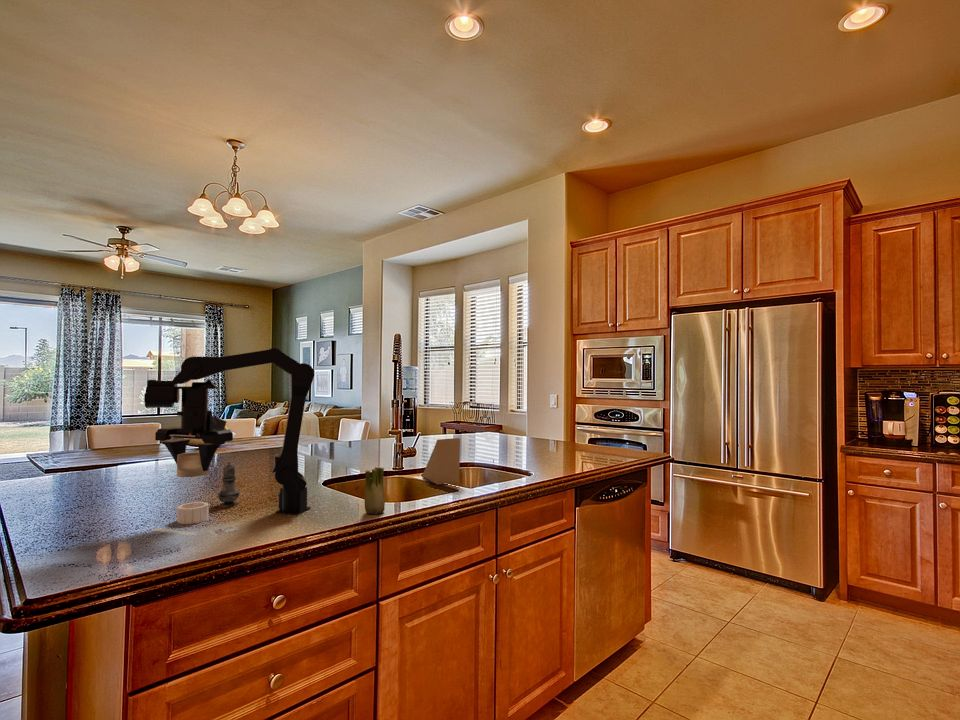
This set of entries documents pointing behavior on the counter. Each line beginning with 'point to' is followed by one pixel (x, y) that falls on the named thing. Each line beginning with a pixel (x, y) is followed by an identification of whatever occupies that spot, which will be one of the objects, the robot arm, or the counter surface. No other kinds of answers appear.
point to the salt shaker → (228, 487)
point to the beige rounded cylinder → (190, 465)
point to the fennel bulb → (374, 491)
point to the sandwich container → (444, 462)
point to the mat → (175, 531)
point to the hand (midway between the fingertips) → (193, 469)
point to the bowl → (192, 512)
